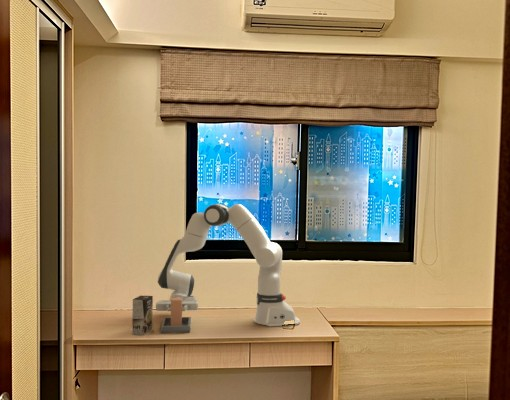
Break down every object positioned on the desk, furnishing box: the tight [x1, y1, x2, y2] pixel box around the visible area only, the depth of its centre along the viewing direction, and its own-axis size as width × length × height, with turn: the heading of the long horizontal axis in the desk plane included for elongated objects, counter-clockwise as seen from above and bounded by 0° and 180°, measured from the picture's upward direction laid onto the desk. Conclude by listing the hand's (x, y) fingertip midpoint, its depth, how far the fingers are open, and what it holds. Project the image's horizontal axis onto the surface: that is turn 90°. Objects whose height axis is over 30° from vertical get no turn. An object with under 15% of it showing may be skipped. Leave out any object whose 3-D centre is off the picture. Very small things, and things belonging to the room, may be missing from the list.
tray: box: [160, 316, 192, 334], centre depth 247 cm, size 13×16×3 cm
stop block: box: [170, 298, 183, 326], centre depth 246 cm, size 5×5×12 cm
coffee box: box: [131, 295, 154, 336], centre depth 239 cm, size 9×6×16 cm
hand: (176, 309), depth 245 cm, fingers open, 5 cm apart
